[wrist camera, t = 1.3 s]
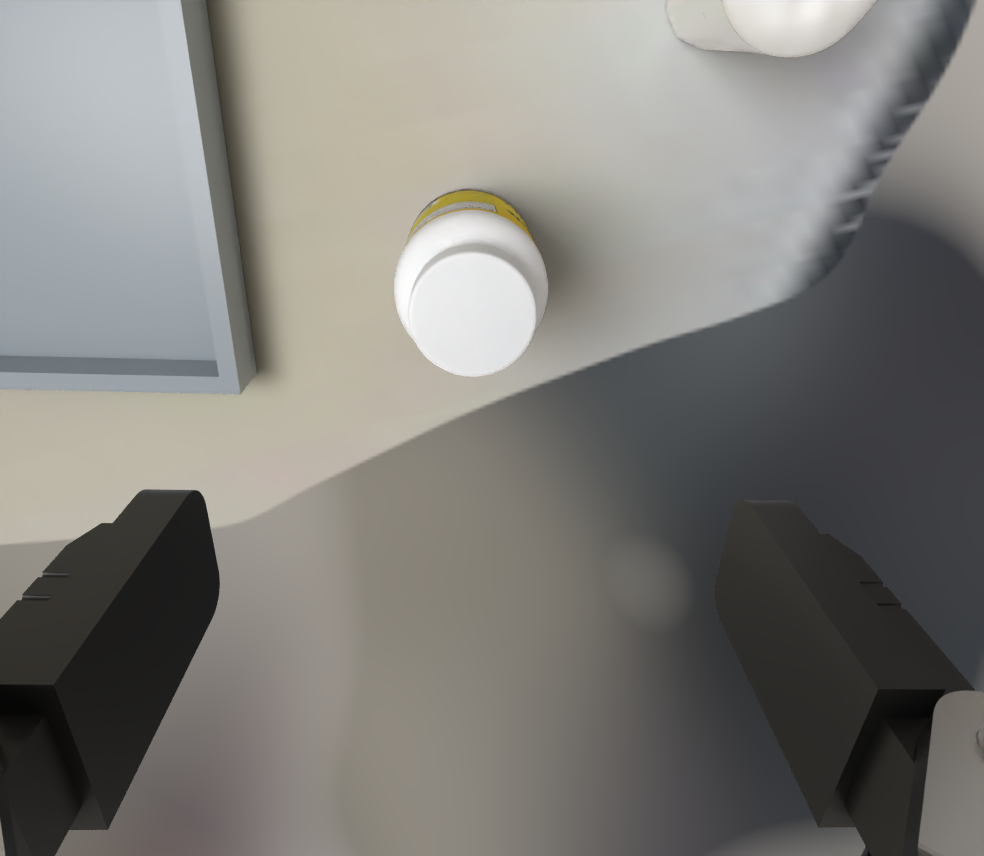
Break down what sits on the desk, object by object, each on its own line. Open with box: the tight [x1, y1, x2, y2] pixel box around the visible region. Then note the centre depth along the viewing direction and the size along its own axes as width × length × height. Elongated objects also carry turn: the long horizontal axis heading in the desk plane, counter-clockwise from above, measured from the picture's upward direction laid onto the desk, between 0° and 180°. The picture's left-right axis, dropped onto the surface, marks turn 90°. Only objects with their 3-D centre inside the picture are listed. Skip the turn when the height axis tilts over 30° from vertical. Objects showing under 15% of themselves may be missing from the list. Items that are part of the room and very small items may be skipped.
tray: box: [0, 0, 257, 394], centre depth 26 cm, size 16×14×2 cm
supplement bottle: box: [394, 189, 548, 377], centre depth 24 cm, size 5×5×10 cm
